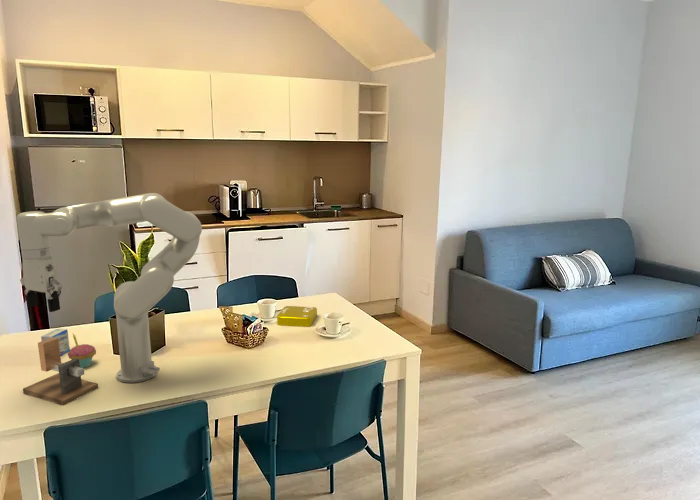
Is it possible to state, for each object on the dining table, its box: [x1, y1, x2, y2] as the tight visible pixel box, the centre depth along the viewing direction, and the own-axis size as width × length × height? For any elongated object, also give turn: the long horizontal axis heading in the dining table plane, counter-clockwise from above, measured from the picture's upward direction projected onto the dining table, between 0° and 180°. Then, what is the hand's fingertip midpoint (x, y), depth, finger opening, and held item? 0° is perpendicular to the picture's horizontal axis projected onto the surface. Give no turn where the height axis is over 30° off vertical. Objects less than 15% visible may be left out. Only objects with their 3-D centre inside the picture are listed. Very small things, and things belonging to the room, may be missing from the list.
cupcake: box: [67, 333, 97, 368], centre depth 176 cm, size 9×8×12 cm
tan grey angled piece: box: [37, 337, 85, 377], centre depth 156 cm, size 14×5×9 cm, turn 66°
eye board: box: [22, 358, 99, 406], centre depth 158 cm, size 18×12×10 cm, turn 66°
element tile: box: [276, 305, 318, 328], centre depth 222 cm, size 15×15×5 cm
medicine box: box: [40, 328, 71, 357], centre depth 185 cm, size 8×4×9 cm, turn 168°
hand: (43, 308), depth 155 cm, fingers open, 9 cm apart
